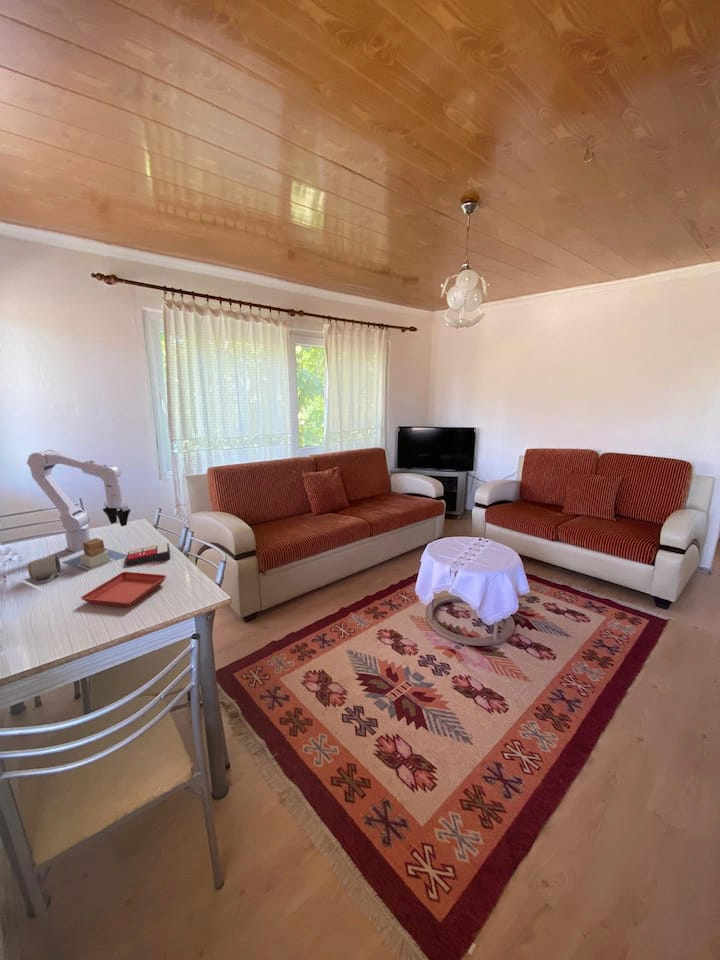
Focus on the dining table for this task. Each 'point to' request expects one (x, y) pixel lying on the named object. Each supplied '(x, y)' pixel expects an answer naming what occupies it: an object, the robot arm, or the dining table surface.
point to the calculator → (148, 554)
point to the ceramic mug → (44, 569)
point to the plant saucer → (124, 589)
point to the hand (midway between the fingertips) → (118, 524)
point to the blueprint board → (113, 557)
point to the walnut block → (93, 547)
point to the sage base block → (95, 559)
